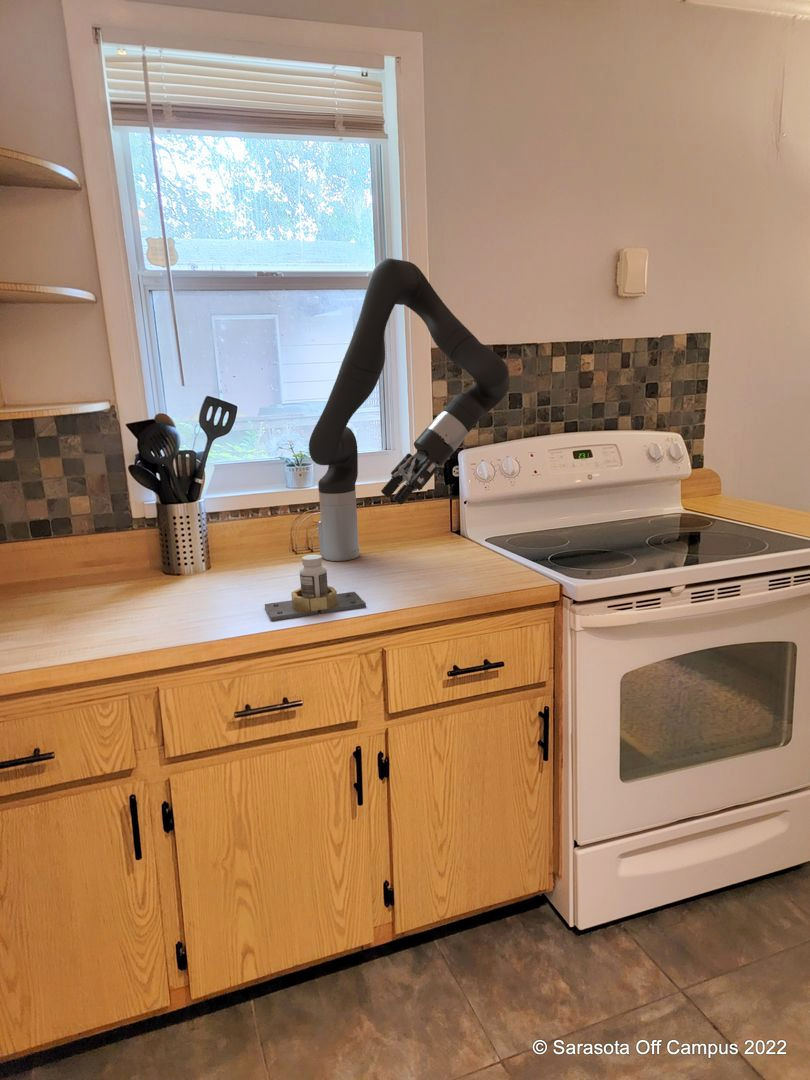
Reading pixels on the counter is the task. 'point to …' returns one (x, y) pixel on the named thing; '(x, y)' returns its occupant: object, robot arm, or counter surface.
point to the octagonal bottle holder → (313, 604)
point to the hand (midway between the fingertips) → (390, 498)
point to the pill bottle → (313, 577)
